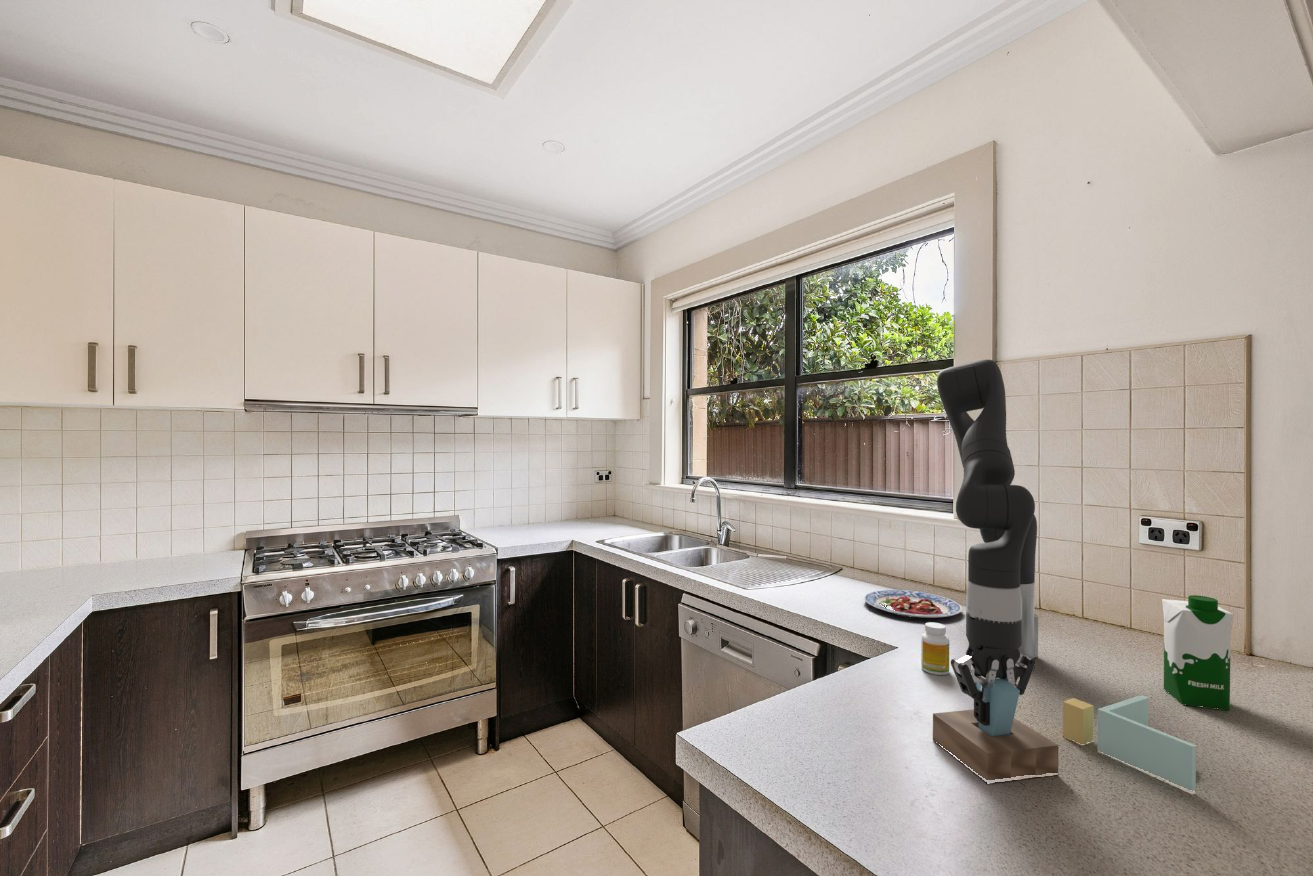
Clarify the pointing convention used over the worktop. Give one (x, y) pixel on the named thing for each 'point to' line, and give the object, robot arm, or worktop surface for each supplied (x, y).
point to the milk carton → (1197, 651)
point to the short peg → (1078, 721)
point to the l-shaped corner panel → (1145, 743)
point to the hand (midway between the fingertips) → (992, 721)
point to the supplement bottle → (935, 649)
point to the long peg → (1001, 708)
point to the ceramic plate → (913, 603)
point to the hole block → (995, 747)
